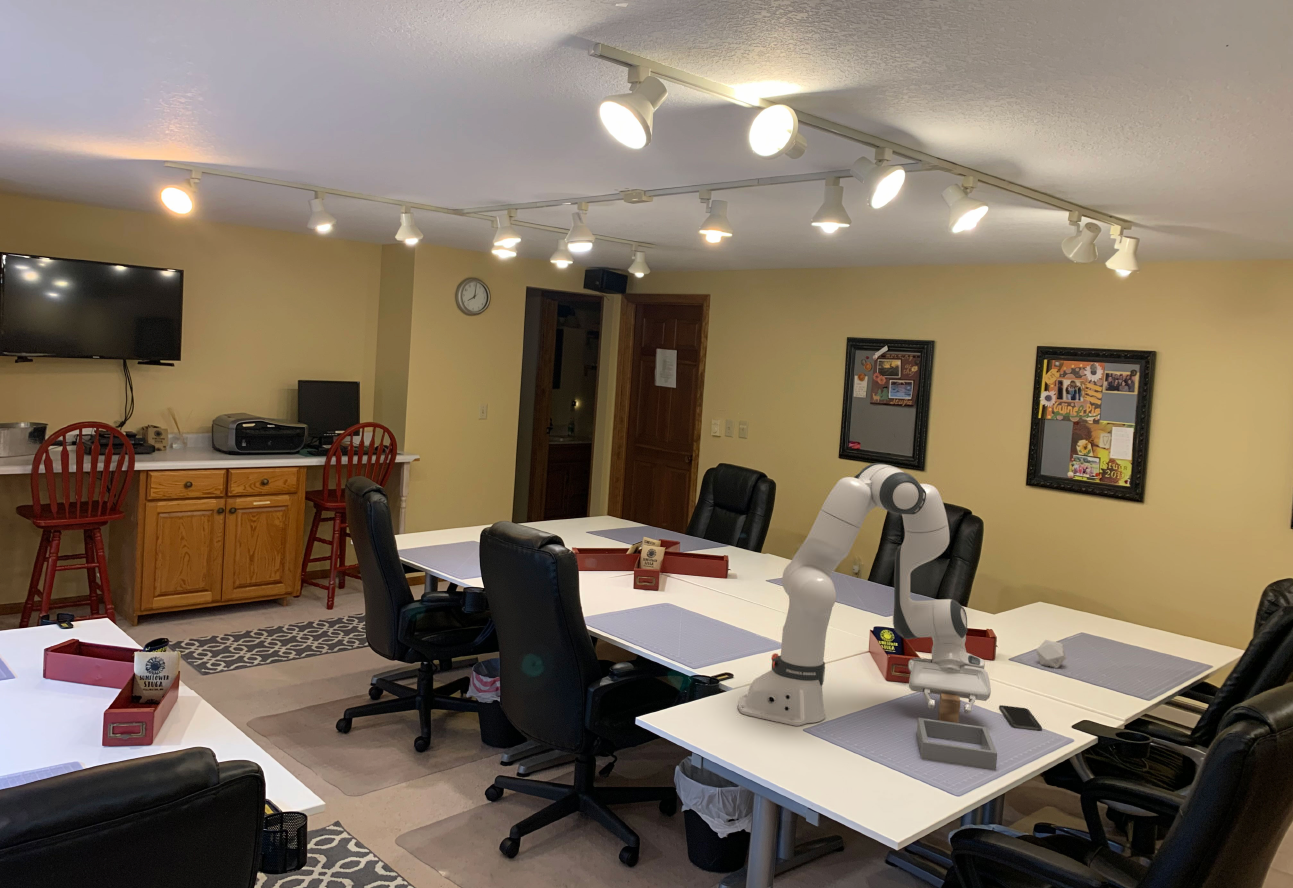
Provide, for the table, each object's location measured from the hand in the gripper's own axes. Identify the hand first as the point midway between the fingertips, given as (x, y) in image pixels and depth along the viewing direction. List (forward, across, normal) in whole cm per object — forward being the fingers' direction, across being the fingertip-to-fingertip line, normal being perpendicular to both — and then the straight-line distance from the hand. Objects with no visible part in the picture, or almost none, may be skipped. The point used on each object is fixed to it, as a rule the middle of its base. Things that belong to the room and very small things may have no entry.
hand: (949, 710), depth 234 cm
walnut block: (+3, 0, +4) cm, 5 cm away
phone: (-7, +20, +14) cm, 25 cm away
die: (-47, +39, +54) cm, 82 cm away
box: (+14, 0, -8) cm, 16 cm away
